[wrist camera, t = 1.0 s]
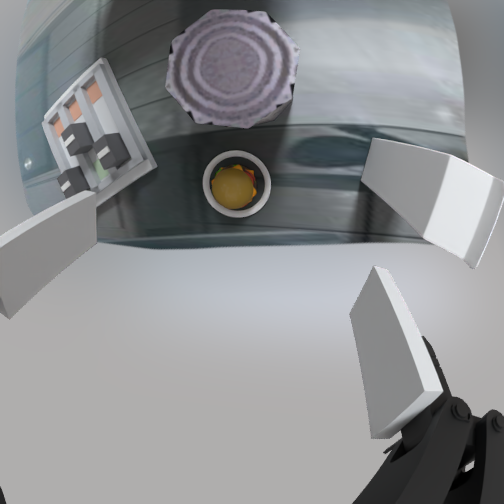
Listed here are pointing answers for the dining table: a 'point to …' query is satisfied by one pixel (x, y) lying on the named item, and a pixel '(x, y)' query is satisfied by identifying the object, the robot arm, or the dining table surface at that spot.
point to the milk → (436, 195)
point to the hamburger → (235, 185)
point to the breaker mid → (77, 138)
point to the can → (233, 68)
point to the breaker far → (73, 181)
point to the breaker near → (111, 150)
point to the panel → (98, 131)
